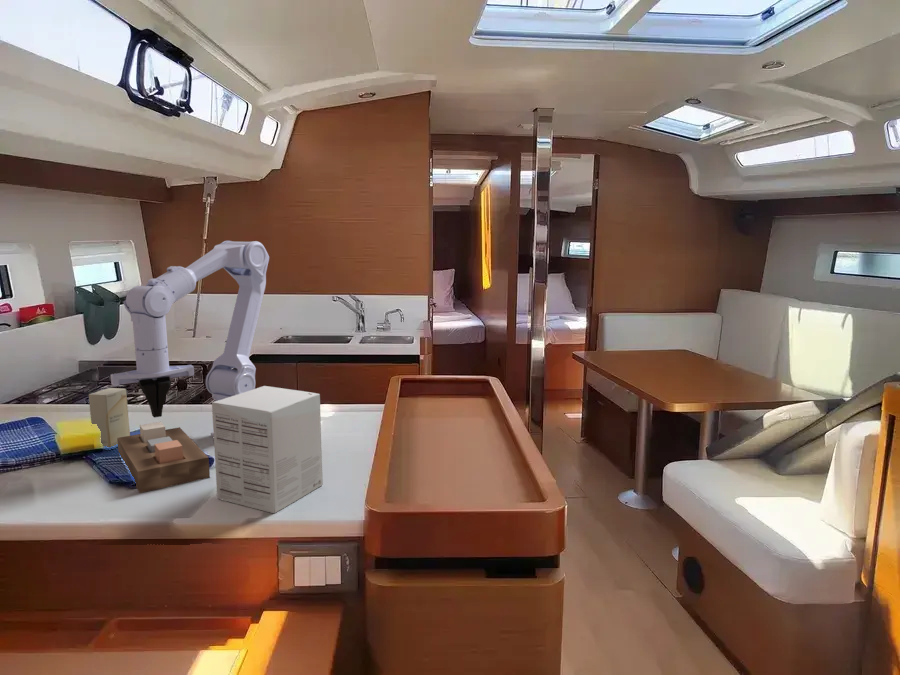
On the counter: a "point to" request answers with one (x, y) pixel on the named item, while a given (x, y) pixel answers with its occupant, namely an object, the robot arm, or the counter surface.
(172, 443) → the key terracotta
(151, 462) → the console
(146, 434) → the key ivory
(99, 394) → the skincare box
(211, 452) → the counter surface
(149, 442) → the key slate
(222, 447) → the supplement box
